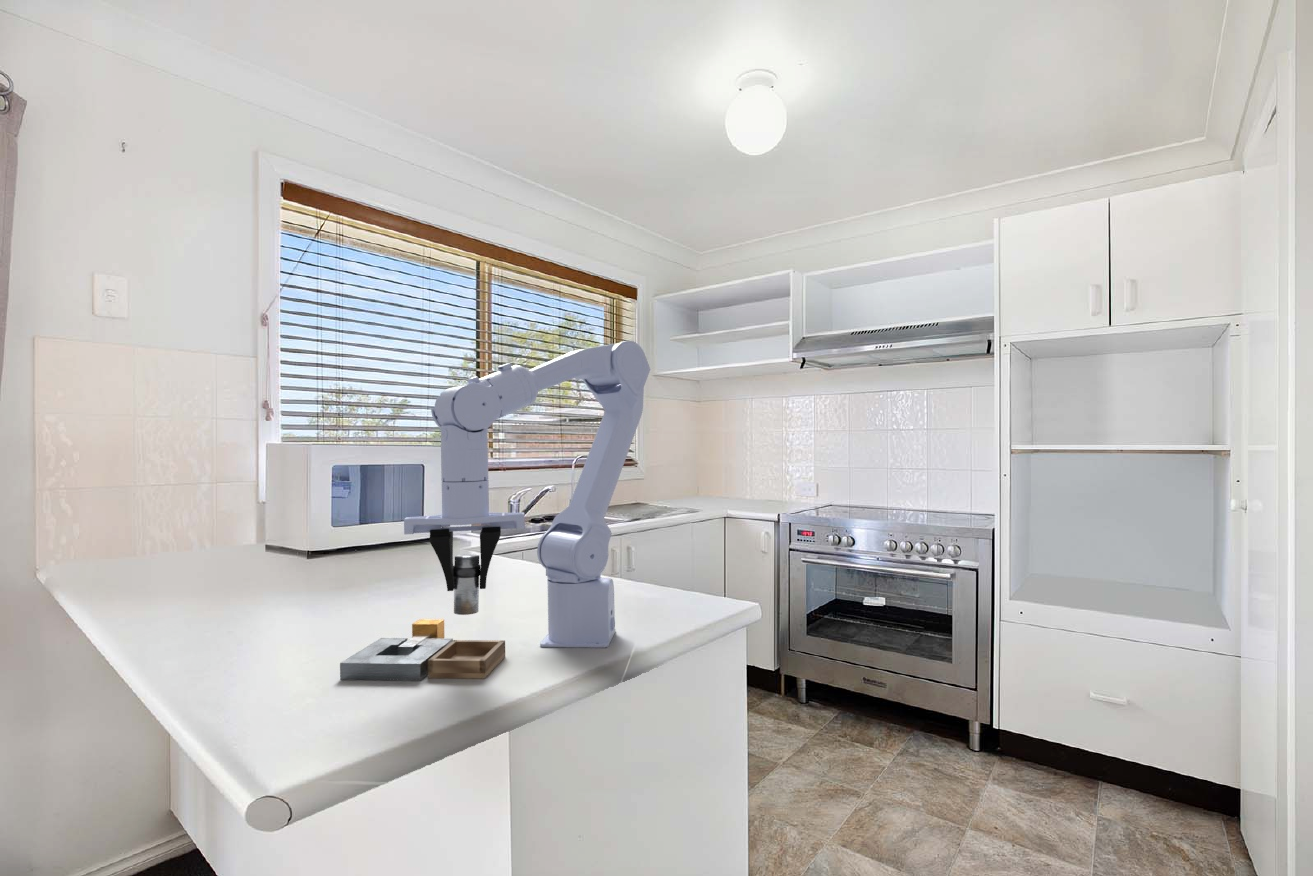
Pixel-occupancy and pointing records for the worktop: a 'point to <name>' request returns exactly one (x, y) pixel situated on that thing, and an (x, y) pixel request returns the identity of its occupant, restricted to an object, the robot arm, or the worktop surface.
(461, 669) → the square wooden tray
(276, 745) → the worktop surface
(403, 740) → the worktop surface
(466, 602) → the silver metal canister
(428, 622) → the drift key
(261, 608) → the worktop surface
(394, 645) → the socket
